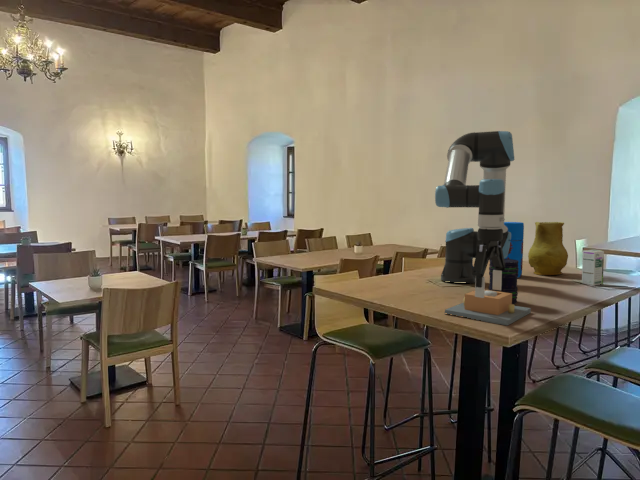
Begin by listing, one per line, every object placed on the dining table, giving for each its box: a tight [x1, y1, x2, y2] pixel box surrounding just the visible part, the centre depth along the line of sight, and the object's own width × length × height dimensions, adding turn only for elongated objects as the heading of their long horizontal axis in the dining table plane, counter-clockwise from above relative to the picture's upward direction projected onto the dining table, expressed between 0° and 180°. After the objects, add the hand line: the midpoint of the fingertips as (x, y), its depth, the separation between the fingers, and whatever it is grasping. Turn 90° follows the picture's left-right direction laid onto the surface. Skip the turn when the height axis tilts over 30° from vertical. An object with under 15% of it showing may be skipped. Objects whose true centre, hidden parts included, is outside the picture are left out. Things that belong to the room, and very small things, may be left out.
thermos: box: [504, 221, 525, 279], centre depth 221 cm, size 11×11×25 cm
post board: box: [444, 291, 532, 326], centre depth 153 cm, size 20×20×7 cm
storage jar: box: [488, 259, 519, 305], centre depth 169 cm, size 10×10×15 cm
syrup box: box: [581, 249, 605, 286], centre depth 201 cm, size 6×6×14 cm
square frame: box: [464, 289, 512, 315], centre depth 153 cm, size 11×11×5 cm
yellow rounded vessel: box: [527, 221, 569, 276], centre depth 226 cm, size 17×19×25 cm
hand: (488, 293), depth 153 cm, fingers open, 13 cm apart
